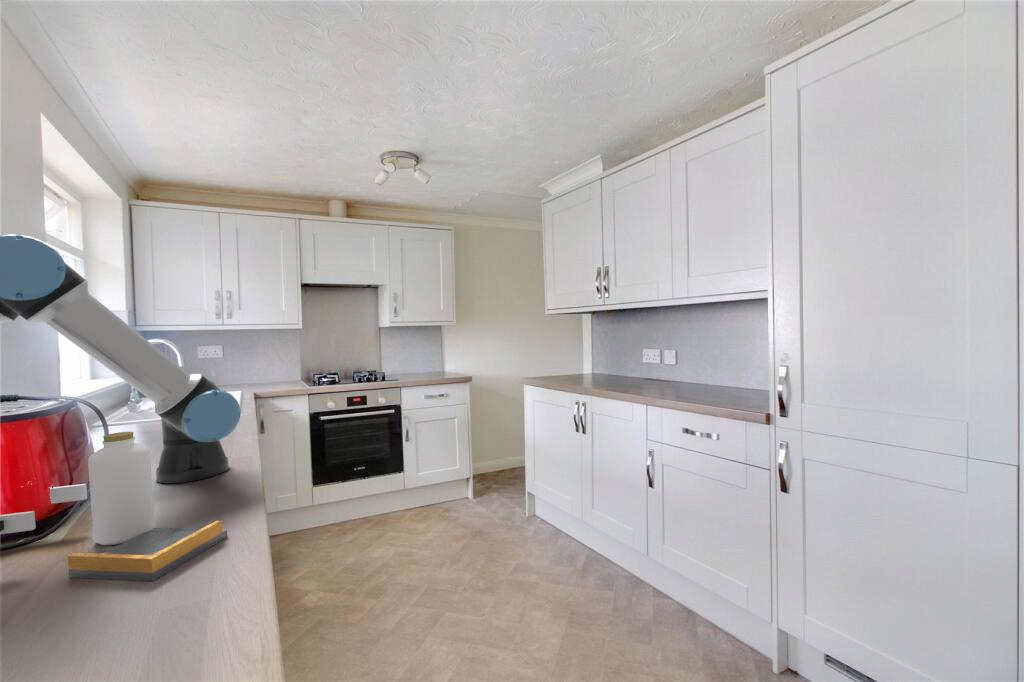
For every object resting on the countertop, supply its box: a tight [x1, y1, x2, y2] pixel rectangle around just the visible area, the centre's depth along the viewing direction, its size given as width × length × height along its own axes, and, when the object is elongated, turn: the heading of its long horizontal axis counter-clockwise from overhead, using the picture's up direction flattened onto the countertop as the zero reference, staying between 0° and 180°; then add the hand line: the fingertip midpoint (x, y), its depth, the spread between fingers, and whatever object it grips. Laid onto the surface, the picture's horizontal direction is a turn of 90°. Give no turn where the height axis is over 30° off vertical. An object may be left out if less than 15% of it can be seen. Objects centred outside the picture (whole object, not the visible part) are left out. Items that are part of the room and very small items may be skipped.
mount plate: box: [67, 520, 228, 582], centre depth 74 cm, size 14×14×3 cm
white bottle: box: [87, 431, 156, 546], centre depth 82 cm, size 8×8×18 cm
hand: (62, 504), depth 79 cm, fingers open, 13 cm apart
